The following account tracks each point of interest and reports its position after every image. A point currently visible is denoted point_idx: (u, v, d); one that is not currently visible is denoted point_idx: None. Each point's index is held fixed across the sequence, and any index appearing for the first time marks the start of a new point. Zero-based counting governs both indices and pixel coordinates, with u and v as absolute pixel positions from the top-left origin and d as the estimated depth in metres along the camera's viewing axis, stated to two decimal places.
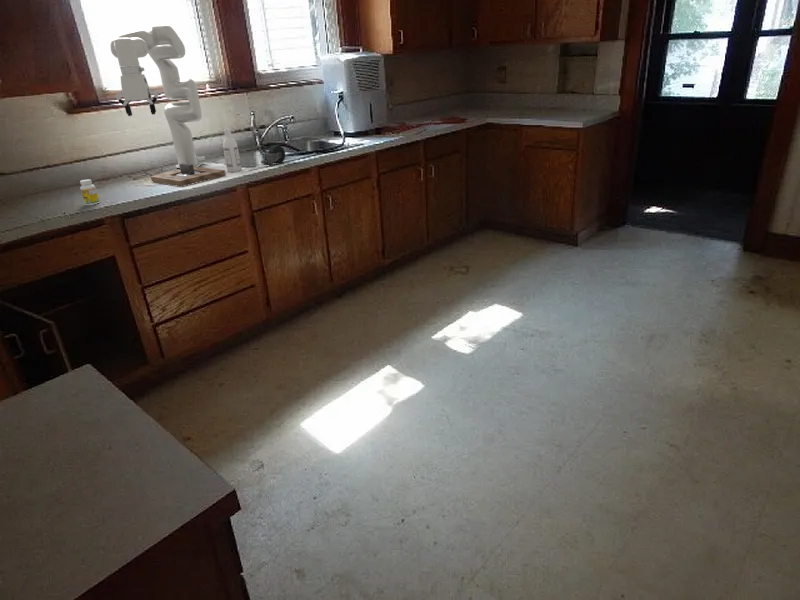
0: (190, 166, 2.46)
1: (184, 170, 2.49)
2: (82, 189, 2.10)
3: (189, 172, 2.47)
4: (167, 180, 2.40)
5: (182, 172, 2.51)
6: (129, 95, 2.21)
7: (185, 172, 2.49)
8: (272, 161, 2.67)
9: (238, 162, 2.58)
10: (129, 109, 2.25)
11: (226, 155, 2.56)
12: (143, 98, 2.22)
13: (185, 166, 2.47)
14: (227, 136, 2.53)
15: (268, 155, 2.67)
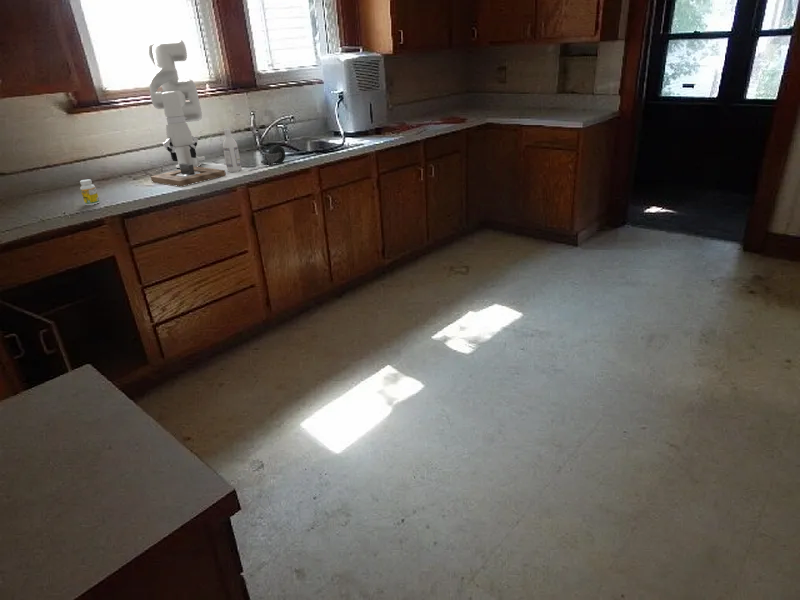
0: (190, 166, 2.46)
1: (184, 170, 2.49)
2: (82, 189, 2.10)
3: (189, 172, 2.47)
4: (167, 180, 2.40)
5: (182, 172, 2.51)
6: (178, 142, 2.40)
7: (185, 172, 2.49)
8: (272, 161, 2.67)
9: (238, 162, 2.58)
10: None
11: (226, 155, 2.56)
12: (189, 144, 2.45)
13: (185, 166, 2.47)
14: (227, 136, 2.53)
15: (268, 155, 2.67)
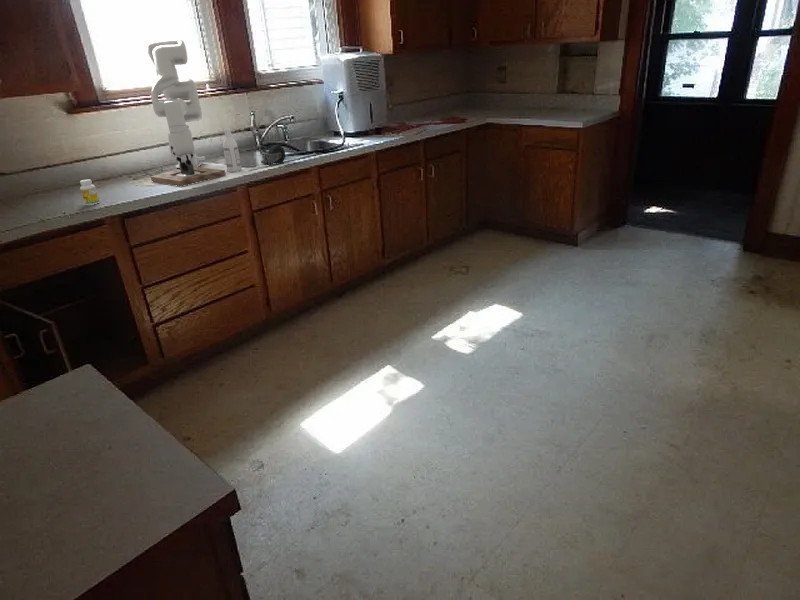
0: (190, 166, 2.46)
1: None
2: (82, 189, 2.10)
3: (189, 172, 2.47)
4: (167, 180, 2.40)
5: (182, 172, 2.51)
6: (180, 150, 2.42)
7: (185, 172, 2.49)
8: (272, 161, 2.67)
9: (238, 162, 2.58)
10: None
11: (226, 155, 2.56)
12: (191, 152, 2.47)
13: None
14: (227, 136, 2.53)
15: (268, 155, 2.67)
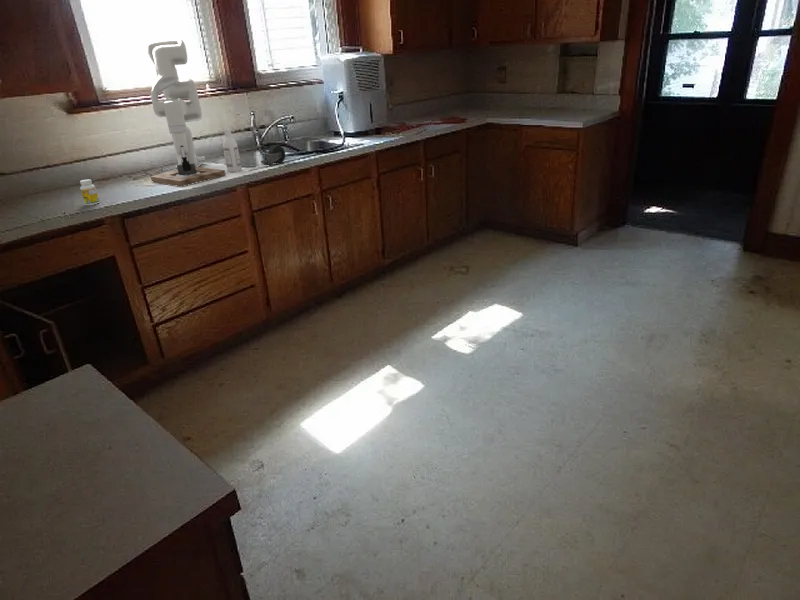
0: (194, 165, 2.48)
1: (185, 171, 2.48)
2: (82, 189, 2.10)
3: (193, 171, 2.49)
4: (167, 180, 2.40)
5: (181, 173, 2.48)
6: (187, 149, 2.44)
7: (186, 172, 2.49)
8: (272, 161, 2.67)
9: (238, 162, 2.58)
10: None
11: (226, 155, 2.56)
12: None
13: None
14: (227, 136, 2.53)
15: (268, 155, 2.67)
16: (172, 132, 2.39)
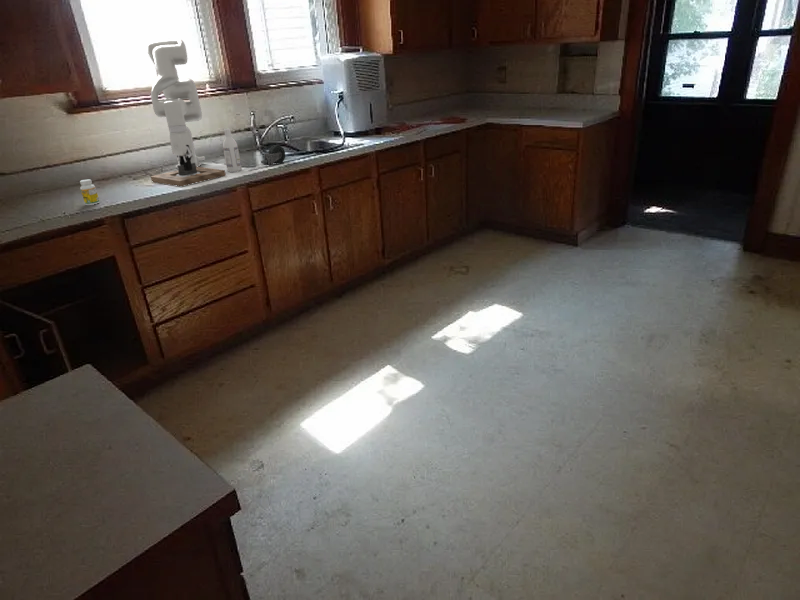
0: None
1: (186, 171, 2.48)
2: (82, 189, 2.10)
3: (194, 170, 2.50)
4: (167, 180, 2.40)
5: (182, 173, 2.47)
6: None
7: (187, 172, 2.49)
8: (272, 161, 2.67)
9: (238, 162, 2.58)
10: None
11: (226, 155, 2.56)
12: None
13: None
14: (227, 136, 2.53)
15: (268, 155, 2.67)
16: (176, 132, 2.38)
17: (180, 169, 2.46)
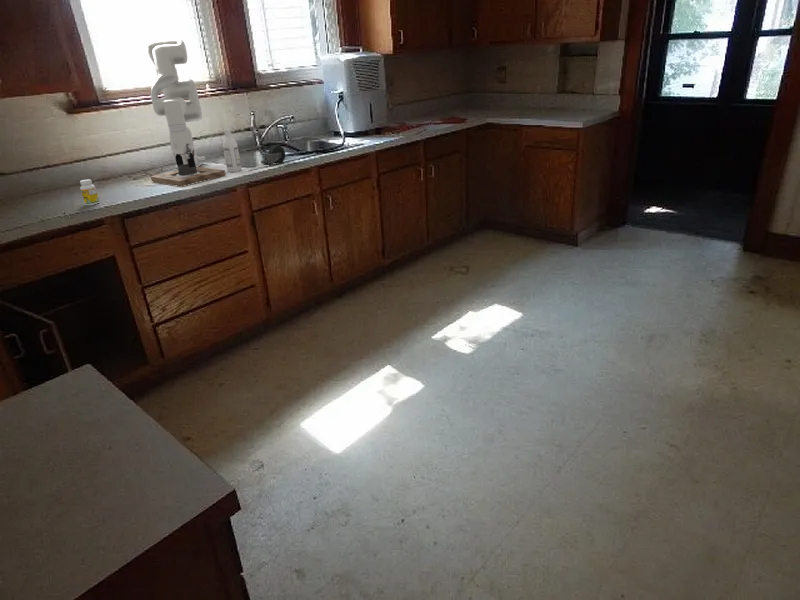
0: None
1: (186, 171, 2.48)
2: (82, 189, 2.10)
3: (194, 170, 2.50)
4: (167, 180, 2.40)
5: (182, 173, 2.47)
6: None
7: (187, 172, 2.49)
8: (272, 161, 2.67)
9: (238, 162, 2.58)
10: None
11: (226, 155, 2.56)
12: None
13: (188, 165, 2.48)
14: (227, 136, 2.53)
15: (268, 155, 2.67)
16: (176, 131, 2.38)
17: (180, 169, 2.46)
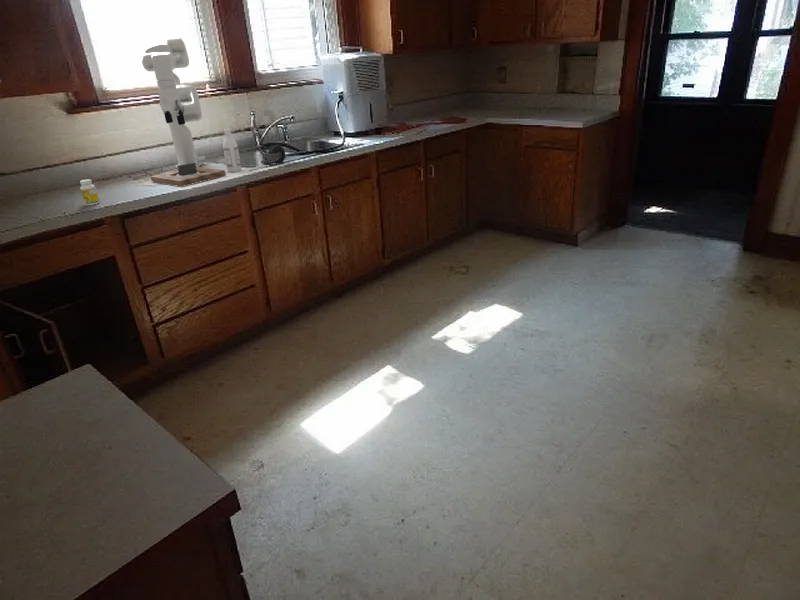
0: None
1: (186, 171, 2.48)
2: (82, 189, 2.10)
3: (194, 170, 2.50)
4: (167, 180, 2.40)
5: (182, 173, 2.47)
6: None
7: (187, 172, 2.49)
8: (272, 161, 2.67)
9: (238, 162, 2.58)
10: None
11: (226, 155, 2.56)
12: None
13: (188, 165, 2.48)
14: (227, 136, 2.53)
15: (268, 155, 2.67)
16: (165, 86, 2.36)
17: (180, 169, 2.46)
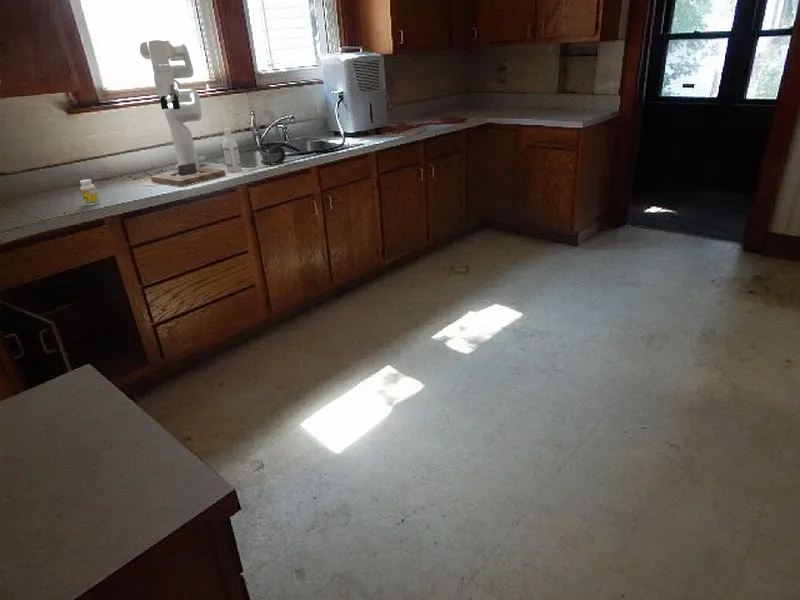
0: None
1: (186, 171, 2.48)
2: (82, 189, 2.10)
3: (194, 170, 2.50)
4: (167, 180, 2.40)
5: (182, 173, 2.47)
6: None
7: (187, 172, 2.49)
8: (272, 161, 2.67)
9: (238, 162, 2.58)
10: None
11: (226, 155, 2.56)
12: None
13: (188, 165, 2.48)
14: (227, 136, 2.53)
15: (268, 155, 2.67)
16: (160, 71, 2.39)
17: (180, 169, 2.46)
